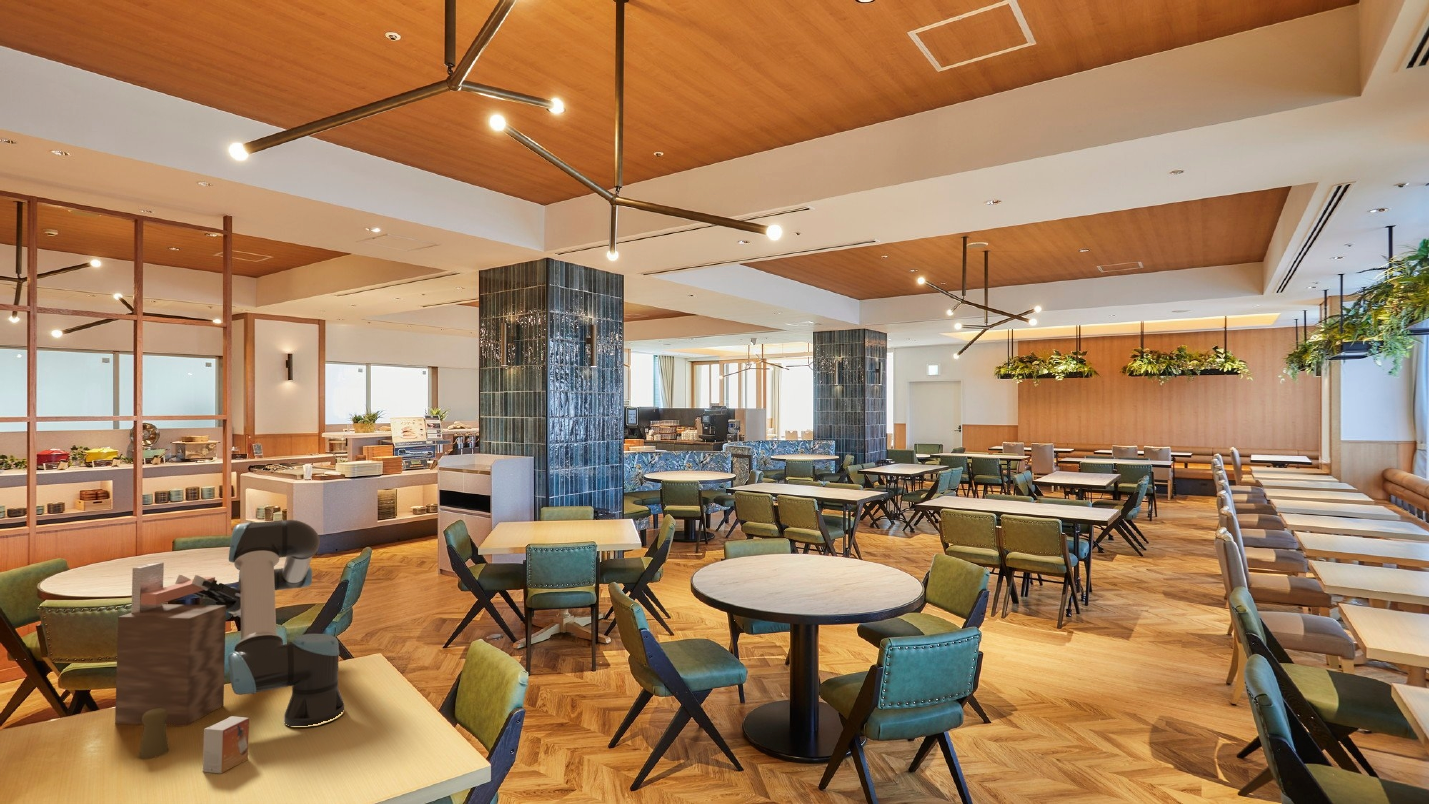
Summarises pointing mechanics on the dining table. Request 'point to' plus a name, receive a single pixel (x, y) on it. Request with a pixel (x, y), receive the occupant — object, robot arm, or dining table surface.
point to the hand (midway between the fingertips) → (186, 579)
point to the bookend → (146, 584)
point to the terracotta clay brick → (171, 592)
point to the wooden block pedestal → (170, 663)
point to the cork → (154, 734)
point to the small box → (225, 744)
